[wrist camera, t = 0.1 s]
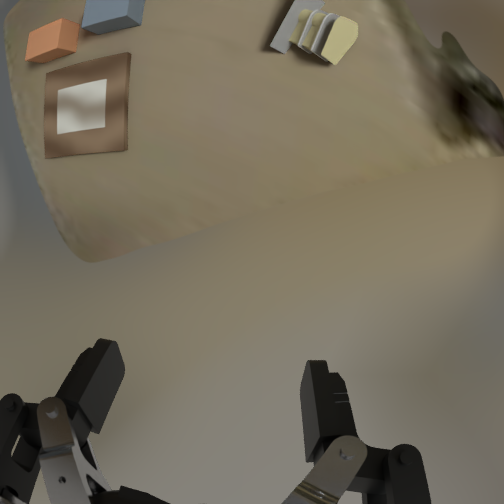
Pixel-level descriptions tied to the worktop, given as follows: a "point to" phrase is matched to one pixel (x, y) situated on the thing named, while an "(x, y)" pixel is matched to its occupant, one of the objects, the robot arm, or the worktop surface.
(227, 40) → the worktop surface
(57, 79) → the plate
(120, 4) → the slate brick
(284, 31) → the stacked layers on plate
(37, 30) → the terracotta brick
